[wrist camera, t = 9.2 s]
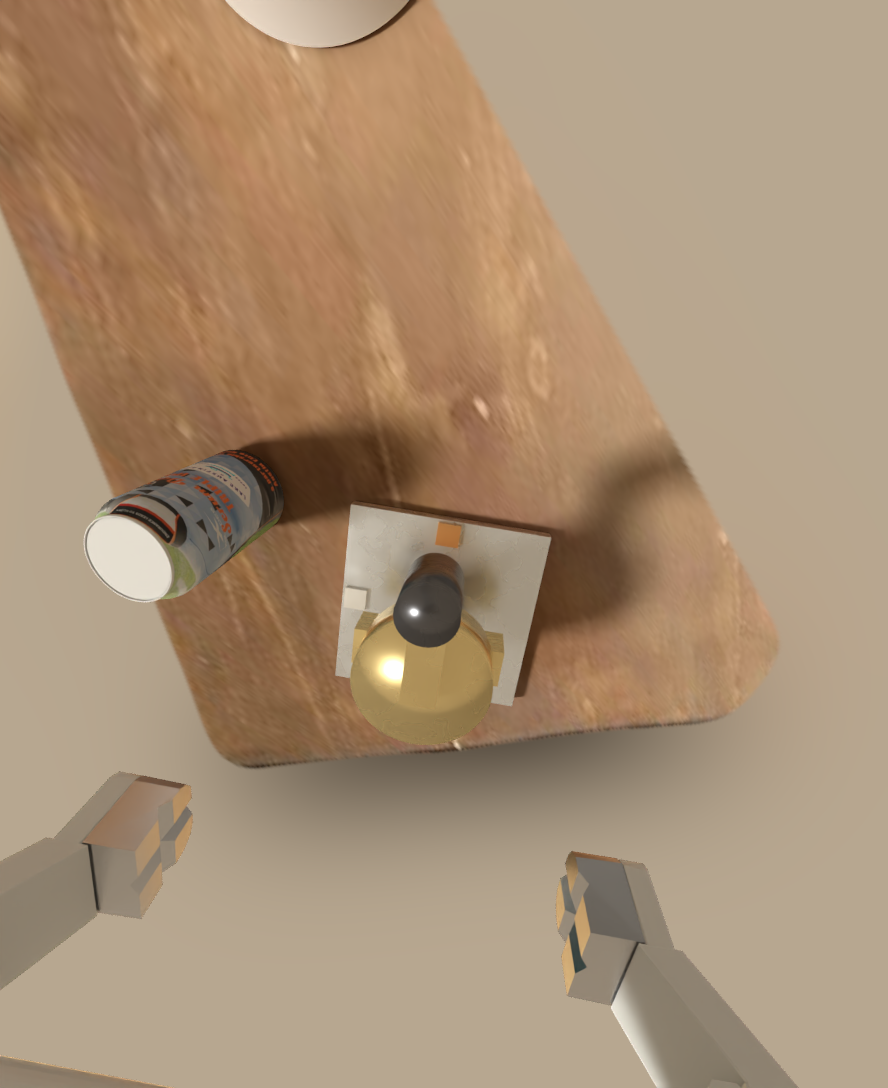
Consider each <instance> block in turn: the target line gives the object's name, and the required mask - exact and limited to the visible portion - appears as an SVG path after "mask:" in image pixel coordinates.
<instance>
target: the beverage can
mask: <svg viewBox="0 0 888 1088" xmlns="http://www.w3.org/2000/svg"><path fill="white" fill-rule="evenodd" d="M283 506H284V496H283V490H282V487H281V484H280V482H279V480H278V478H277V476H276V475H275V473H274V472H273V471H272V469H271V468H270V467H269V466H268V465H267V464H266V463H265V462H263V461H262V460H261V459H260V458H258V457H256V456H254V455H253V454H250V453H247V452H244V451H239V450H229V451H224V452H221V453H219V454H216V455H214V456H212V457H209V458H207V459H205V460H202V461H200V462H198V463H195V464H193V465H191V466H188V467H186V468H183V469H181V470H179V471H176V472H174V473H172V474H169V475H167V476H165V477H162V478H160V479H158V480H155V481H153V482H150V483H148V484H146V485H143V486H141V487H139V488H136V489H134V490H132V491H129V492H127V493H125V494H122V495H120V496H117V497H115V498H113V499H111V500H110V501H109V502H107V503H106V504H104V505H103V507H102V508H101V509H100V511H99V512H98V513H97V516H96V518H95V520H94V521H93V522H91V524H90V525H89V526H88V527H87V530H86V532H85V535H84V550H85V555H86V557H87V560H88V562H89V564H90V566H91V568H92V570H93V571H94V573H95V574H96V575H97V577H98V578H99V579H100V580H101V581H102V582H103V583H104V584H105V585H106V586H107V587H108V588H110V589H111V590H112V591H114V592H115V593H117V594H119V595H120V596H122V597H125V598H127V599H129V600H133V601H137V602H152V601H156V600H159V599H169V598H175V597H178V596H181V595H183V594H185V593H187V592H188V591H190V590H191V589H192V588H194V587H195V586H196V585H198V584H199V583H200V582H201V581H203V580H204V579H205V578H207V577H208V576H209V575H210V574H212V573H213V572H214V571H216V570H217V569H218V568H220V567H221V566H222V565H223V564H225V563H226V562H227V561H229V560H230V559H231V558H232V557H234V556H235V555H236V554H238V553H239V552H240V551H241V550H243V549H244V548H245V547H247V546H248V545H249V544H250V543H252V542H253V541H254V540H256V539H257V538H258V537H260V536H261V535H262V534H263V533H265V532H266V531H267V530H269V529H270V528H271V527H272V526H273V525H274V524H276V523H277V521H278V520H279V518H280V516H281V514H282V511H283Z"/></svg>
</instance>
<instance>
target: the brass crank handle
mask: <svg viewBox="0 0 888 1088" xmlns="http://www.w3.org/2000/svg"><path fill="white" fill-rule="evenodd" d="M463 592H464V573H463V570H462V568H461V567H460V565H459V564H458V563H457V562H456V561H455V560H454V559H453V558H451V557H450V556H448V555H445V554H441V553H428V554H425V555H422V556H420V557H419V558H417V559H416V560H415V561H414V562H413V563H412V565H411V566H410V568H409V571H408V573H407V576H406V578H405V581H404V583H403V586H402V589H401V591H400V594H399V596H398V599H397V601H396V604H393V605H392V606H390V607H388V608H386V609H385V610H384V611H382V612H381V613H380V614H379V613H373V612H367V611H363V613H362V615H361V617H360V619H359V621H358V623H357V624H356V626H355V628H354V638H353V649H352V660H351V663H353V664H352V667H351V673H350V685H351V691H352V695H353V698H354V700H355V703H356V705H357V707H358V708H359V710H360V712H361V713H362V714H363V716H364V717H365V718H366V719H367V720H368V721H369V722H370V723H371V724H372V725H373V726H374V727H376V728H377V729H378V730H379V731H381V732H383V733H384V734H386V735H388V736H390V737H392V738H394V739H397V740H400V741H403V742H407V743H411V744H419V745H433V744H441V743H445V742H449V741H452V740H455V739H457V738H459V737H461V736H463V735H465V734H467V733H468V732H470V731H471V730H472V729H473V728H474V727H476V726H477V725H478V724H479V722H480V721H481V720H482V719H483V717H484V716H485V714H486V713H487V711H488V708H489V706H490V703H491V700H492V694H493V686H496V687H498V682H499V677H500V673H501V668H502V663H503V658H504V640H503V634H502V633H495V632H489V631H484V629H483V628H482V626H481V625H480V624H479V622H478V621H477V620H476V619H475V618H474V617H473V616H472V615H470V614H469V613H468V612H467V611H465V610H464V609H462V602H463Z"/></svg>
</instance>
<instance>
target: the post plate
mask: <svg viewBox="0 0 888 1088" xmlns="http://www.w3.org/2000/svg"><path fill="white" fill-rule="evenodd" d="M550 541H551V536H550V533H545V532H539V531H533V530H527V529H521V528H515V527H509V526H503V525H497V524H491V523H485V522H478V521H472V520H466V519H460V518H454V517H448V516H442V515H436V514H430V513H424V512H418V511H412V510H406V509H400V508H394V507H388V506H382V505H376V504H370V503H364V502H358V501H354V502H353V503H352V504H351V509H350V520H349V531H348V542H347V553H346V564H345V575H344V586H343V597H342V608H341V619H340V630H339V641H338V652H337V664H336V676H342V677H347V678H350V673H351V667H352V664H353V663H351V660H352V649H353V638H354V628H355V626H356V624H357V623H358V621H359V619H360V617H361V615H362V613H363V611H367V612H373V613H379V614H380V613H381V612H382V611H384V610H385V609H386V608H388V607H390V606H392V605H393V604H396V601H397V599H398V596H399V594H400V591H401V589H402V586H403V583H404V581H405V578H406V576H407V573H408V571H409V568H410V566H411V565H412V563H413V562H414V561H415V560H416V559H417V558H419V557H420V556H422V555H425V554H428V553H441V554H445V555H448V556H450V557H451V558H453V559H454V560H455V561H456V562H457V563H458V564H459V565H460V567H461V568H462V570H463V573H464V592H463V602H462V609H464V610H465V611H467V612H468V613H469V614H470V615H472V616H473V617H474V618H475V619H476V620H477V621H478V622H479V624H480V625H481V626H482V628H483V629H484V631H489V632H495V633H502V634H503V640H504V658H503V663H502V668H501V673H500V677H499V682H498V687H496V686H493V694H492V700H491V703H496V704H502V705H507V706H512V703H513V699H514V695H515V690H516V686H517V682H518V678H519V673H520V669H521V665H522V661H523V656H524V652H525V648H526V644H527V639H528V635H529V631H530V627H531V622H532V618H533V614H534V610H535V605H536V601H537V597H538V593H539V588H540V584H541V580H542V576H543V571H544V567H545V563H546V558H547V554H548V550H549V546H550Z"/></svg>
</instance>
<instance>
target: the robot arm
mask: <svg viewBox="0 0 888 1088" xmlns="http://www.w3.org/2000/svg"><path fill="white" fill-rule="evenodd" d="M225 1H226V2H227V3H228V4H229V5H230V6H231V7H232V8H233V9H234V10H235V11H236V12H237V13H238V14H239V15H240V16H241V17H242V18H244V19H245V20H246V21H247V22H249V23H250V24H251V25H253V26H254V27H256V28H257V29H259V30H260V31H262V32H264V33H265V34H267V35H269V36H271V37H273V38H275V39H278V40H281V41H283V42H286V43H290V44H293V45H298V46H303V47H333V46H338V45H343V44H346V43H350V42H353V41H355V40H358V39H360V38H362V37H364V36H366V35H368V34H370V33H372V32H374V31H375V30H377V29H379V28H380V27H381V26H383V25H384V24H385V23H387V22H388V21H389V20H390V19H391V18H393V17H394V16H395V15H396V14H397V13H398V12H399V11H400V10H401V9H402V8H403V7H404V6H405V5H406V4H407V2H408V1H409V0H225ZM191 798H192V794H191V786H189V785H186V784H181V783H176V782H171V781H166V780H162V779H157V778H152V777H147V776H141V775H136V774H131V773H125V772H120V771H119V772H118V773H116V774H114V775H112V776H111V777H110V778H109V779H108V780H107V781H106V782H105V783H104V784H103V786H101V787H100V789H99V790H98V791H97V792H96V793H95V794H94V795H93V796H92V797H91V798H90V799H89V801H88V802H87V803H86V804H85V805H84V806H83V807H82V808H81V809H80V811H78V812H77V814H76V815H75V816H74V817H73V818H72V819H71V820H70V821H69V822H68V823H67V825H66V826H65V827H64V828H63V829H62V830H61V831H60V832H59V833H58V834H57V835H56V836H55V837H54V839H52V838H44V839H42V840H41V841H39V842H37V843H35V844H33V845H31V846H29V847H27V848H25V849H23V850H22V851H19V852H17V853H15V854H13V855H11V856H10V857H8V858H6V859H4V860H2V861H0V990H1V989H3V988H4V987H5V986H6V985H8V984H9V983H10V982H12V981H13V980H14V979H16V978H17V977H18V976H19V975H21V974H22V973H23V972H25V971H26V970H27V969H29V968H30V967H31V966H32V965H34V964H35V963H36V962H38V961H39V960H40V959H42V958H43V957H44V956H45V955H47V954H48V953H49V952H51V951H52V950H53V949H55V947H57V946H58V945H60V944H61V943H62V942H64V941H65V940H66V939H68V938H69V937H70V936H71V935H73V934H74V933H75V932H77V931H78V930H79V929H81V928H82V927H83V926H84V925H86V924H87V923H88V922H90V921H91V920H92V919H94V918H95V917H96V916H97V913H104V914H111V915H118V916H124V917H131V918H138V919H142V917H143V915H144V914H145V912H146V910H147V909H148V907H149V906H150V904H151V903H152V901H153V899H154V898H155V896H156V895H157V893H158V891H159V890H160V888H161V887H162V885H163V883H162V872H163V871H165V870H167V869H168V868H170V867H171V866H173V865H174V864H176V862H177V861H178V859H179V857H180V856H181V854H182V852H183V851H184V849H185V846H186V844H187V841H188V839H189V836H190V834H191V829H192V823H193V815H192V813H191V811H190V810H189V809H188V807H187V804H188V803H189V801H190V800H191ZM565 864H566V870H567V875H565V876H563V877H562V878H560V882H559V885H558V889H557V896H556V920H557V928H558V932H559V934H560V935H561V937H562V938H563V939H564V941H565V942H566V944H565V947H564V950H563V953H562V956H561V958H562V965H563V971H564V979H565V986H566V993H567V996H569V997H574V998H579V999H583V1000H588V1001H593V1002H597V1003H602V1004H607V1005H611V1006H612V1007H611V1010H612V1011H613V1013H614V1015H615V1016H616V1018H617V1020H618V1021H619V1023H620V1025H621V1027H622V1028H623V1030H624V1032H625V1034H626V1035H627V1037H628V1039H629V1041H630V1042H631V1044H632V1046H633V1047H634V1049H635V1051H636V1053H637V1054H638V1056H639V1058H640V1060H641V1061H642V1063H643V1065H644V1066H645V1068H646V1070H647V1071H648V1073H649V1075H650V1077H651V1078H652V1080H653V1082H654V1084H655V1085H656V1087H657V1088H798V1086H797V1085H796V1084H795V1083H794V1082H793V1081H792V1079H791V1078H790V1077H789V1076H788V1075H787V1074H786V1072H785V1071H784V1070H783V1069H782V1068H781V1066H780V1065H779V1064H778V1063H777V1062H776V1061H775V1059H774V1058H773V1057H772V1056H771V1055H770V1054H769V1052H768V1051H767V1050H766V1049H765V1048H764V1046H763V1045H762V1044H761V1043H760V1042H759V1041H758V1039H757V1038H756V1037H755V1036H754V1035H753V1034H752V1033H751V1031H750V1030H749V1029H748V1028H747V1027H746V1025H745V1024H744V1023H743V1022H742V1021H741V1019H740V1018H739V1017H738V1016H737V1015H736V1014H735V1012H734V1011H733V1010H732V1009H731V1008H730V1007H729V1006H728V1004H727V1003H726V1002H725V1001H724V999H722V997H721V996H720V995H719V994H718V992H717V991H716V990H715V989H714V988H713V987H712V985H711V984H710V983H709V982H708V981H707V979H706V978H705V977H704V976H703V975H702V974H701V972H700V971H699V970H698V969H697V968H696V967H695V965H694V964H693V963H692V962H691V961H690V959H689V958H688V957H687V956H686V955H685V954H684V953H683V951H679V950H675V949H674V946H673V943H672V940H671V937H670V934H669V931H668V928H667V925H666V922H665V919H664V916H663V913H662V910H661V908H660V905H659V902H658V899H657V896H656V893H655V890H654V887H653V884H652V881H651V878H650V875H649V872H648V869H647V868H646V866H645V865H644V864H643V863H637V862H631V861H625V860H618V859H616V858H611V857H605V856H598V855H591V854H586V853H579V852H573V851H571V852H570V853H569V855H568V857H567V860H566V863H565ZM0 1088H173V1087H168V1086H162V1085H157V1084H152V1083H146V1082H141V1081H135V1080H130V1079H125V1078H119V1077H114V1076H109V1075H104V1074H98V1073H92V1072H87V1071H82V1070H76V1069H72V1068H66V1067H61V1066H55V1065H50V1064H44V1063H39V1062H34V1061H29V1060H23V1059H17V1058H13V1057H7V1056H2V1055H0Z"/></svg>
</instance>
